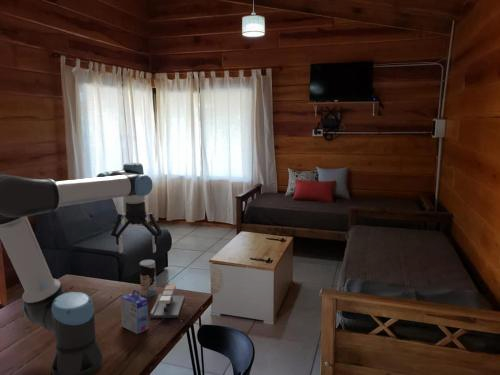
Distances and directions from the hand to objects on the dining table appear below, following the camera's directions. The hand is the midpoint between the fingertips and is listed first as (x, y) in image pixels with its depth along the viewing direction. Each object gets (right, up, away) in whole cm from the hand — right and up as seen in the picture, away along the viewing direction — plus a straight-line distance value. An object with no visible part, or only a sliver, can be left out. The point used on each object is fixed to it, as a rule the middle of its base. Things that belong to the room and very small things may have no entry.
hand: (137, 251), depth 157 cm
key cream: (+12, -20, -2) cm, 23 cm away
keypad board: (+12, -24, +4) cm, 27 cm away
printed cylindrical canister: (0, -22, +17) cm, 28 cm away
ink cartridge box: (+2, -27, -11) cm, 30 cm away
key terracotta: (+12, -18, +8) cm, 23 cm away
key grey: (+12, -19, +3) cm, 22 cm away
